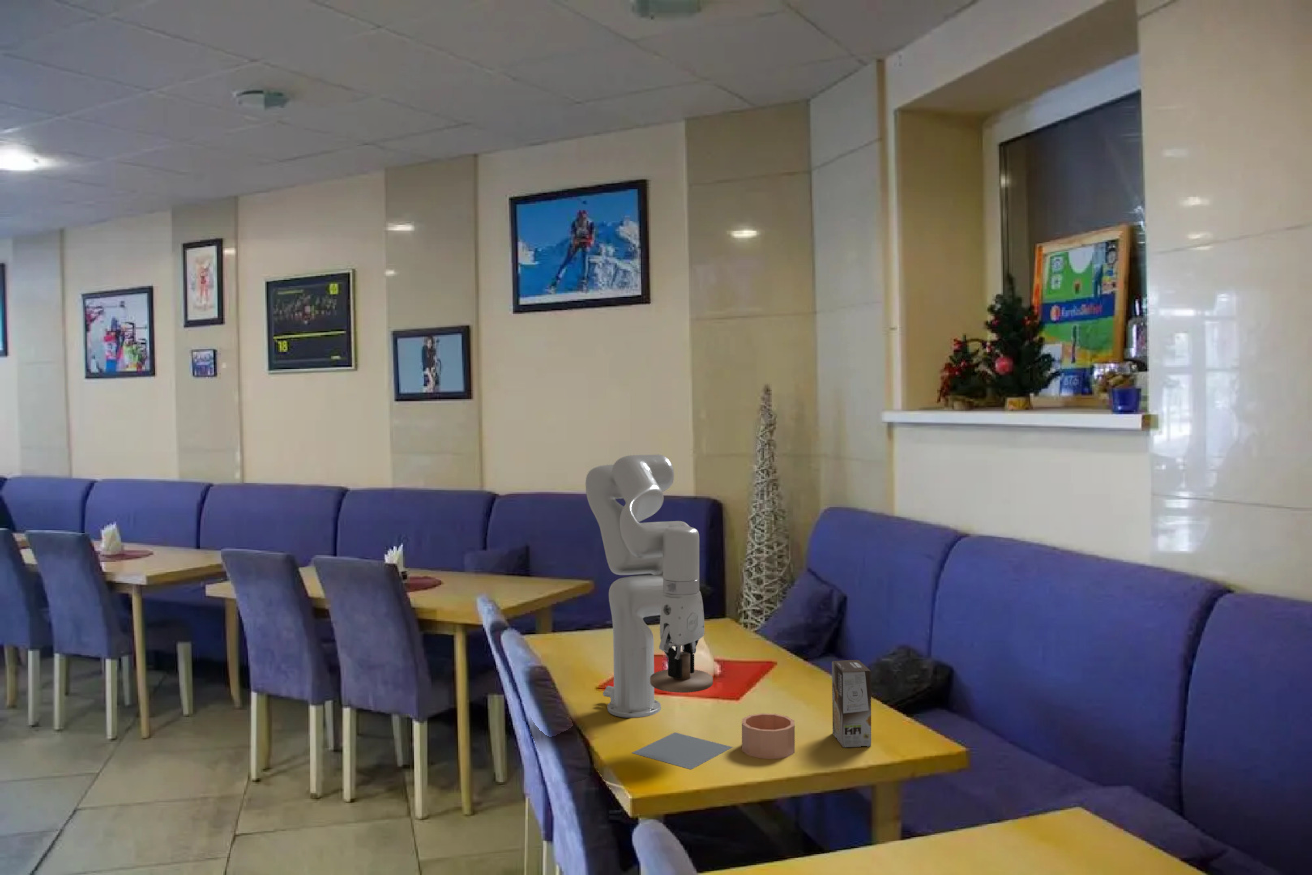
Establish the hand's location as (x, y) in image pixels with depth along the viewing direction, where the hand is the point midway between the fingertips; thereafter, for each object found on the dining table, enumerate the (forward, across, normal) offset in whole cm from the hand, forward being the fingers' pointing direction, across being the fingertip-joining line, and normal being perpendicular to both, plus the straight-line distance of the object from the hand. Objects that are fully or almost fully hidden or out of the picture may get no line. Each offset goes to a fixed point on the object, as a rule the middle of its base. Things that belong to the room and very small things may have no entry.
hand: (681, 673), depth 195 cm
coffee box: (+16, +27, -26) cm, 40 cm away
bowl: (+16, +11, -15) cm, 24 cm away
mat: (+16, 0, -1) cm, 16 cm away
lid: (+2, 0, 0) cm, 2 cm away
